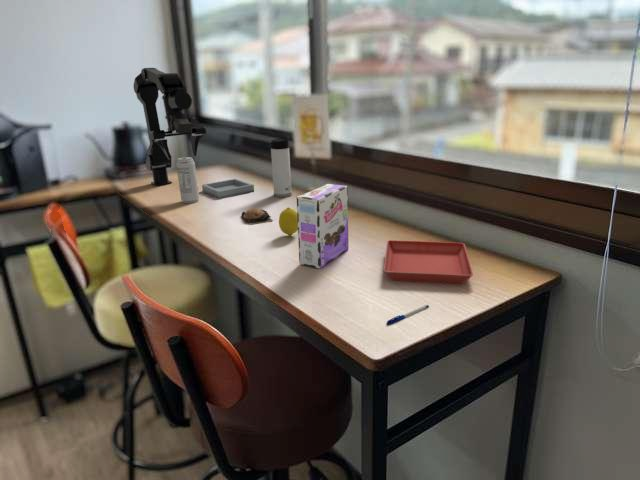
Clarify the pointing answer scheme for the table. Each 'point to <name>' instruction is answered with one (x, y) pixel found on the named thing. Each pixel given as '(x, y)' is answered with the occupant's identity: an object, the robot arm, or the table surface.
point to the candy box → (322, 225)
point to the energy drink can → (187, 180)
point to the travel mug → (281, 167)
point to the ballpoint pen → (405, 315)
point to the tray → (227, 188)
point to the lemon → (288, 221)
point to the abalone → (256, 216)
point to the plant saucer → (427, 261)
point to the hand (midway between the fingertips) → (182, 157)
